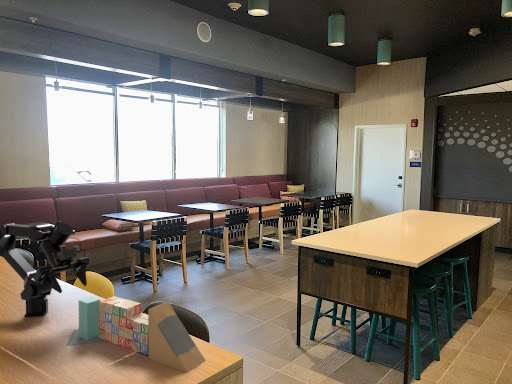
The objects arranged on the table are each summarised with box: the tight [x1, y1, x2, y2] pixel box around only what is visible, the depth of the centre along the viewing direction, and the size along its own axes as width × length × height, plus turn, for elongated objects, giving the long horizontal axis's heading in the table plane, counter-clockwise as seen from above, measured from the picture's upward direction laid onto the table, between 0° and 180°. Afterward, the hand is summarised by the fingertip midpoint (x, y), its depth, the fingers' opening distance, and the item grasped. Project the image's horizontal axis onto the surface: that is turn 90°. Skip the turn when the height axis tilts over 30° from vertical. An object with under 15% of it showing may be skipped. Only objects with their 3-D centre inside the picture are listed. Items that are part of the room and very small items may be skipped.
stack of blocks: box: [99, 295, 149, 356], centre depth 125 cm, size 21×6×12 cm, turn 61°
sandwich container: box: [147, 301, 207, 373], centre depth 115 cm, size 9×15×15 cm, turn 59°
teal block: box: [78, 296, 101, 340], centre depth 128 cm, size 5×5×12 cm
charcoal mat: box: [65, 328, 108, 347], centre depth 129 cm, size 12×12×1 cm
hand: (73, 288), depth 136 cm, fingers open, 9 cm apart
